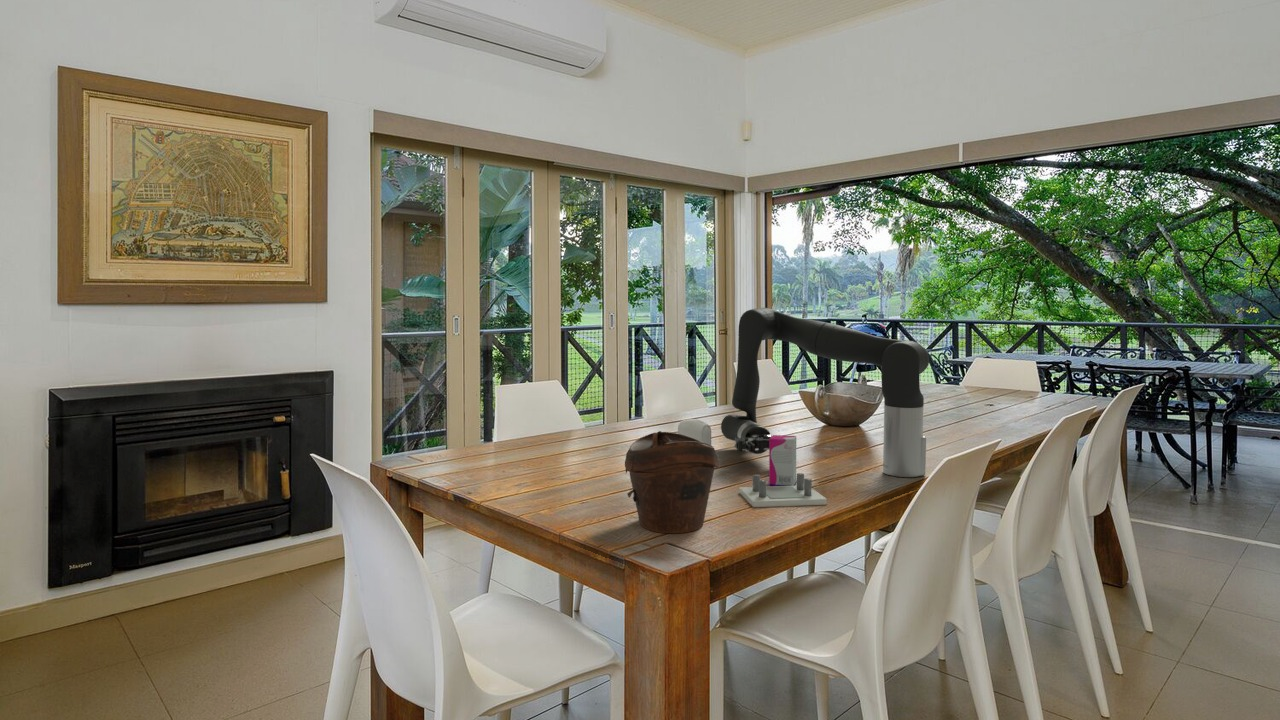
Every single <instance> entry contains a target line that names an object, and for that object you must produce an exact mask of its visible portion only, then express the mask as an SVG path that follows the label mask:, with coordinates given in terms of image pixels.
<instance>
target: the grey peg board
mask: <svg viewBox="0 0 1280 720" xmlns="http://www.w3.org/2000/svg"><path fill="white" fill-rule="evenodd" d="M812 481H813V480H812V478H807V477H806V478H805V473H800V472H796V485H795V486H769V485H768V486H767V480H765V479H761V475H760V474H752V486H742V487H741V486H740V487H739V494H740V495H741V496H742V497H743V499H745V500H746V502H747V503H748V504H750V505H751V507H752V508H762V507H763V508H765V507H770V508H771V507H793V506H795V507H796V506H819V505H820V506H823V505H824V506H825V505H827V502H828V499H827V498H826V497H825V496H823V495H822V494H821V493H820V492H818V491H816V489H814V488H812V486H813V485H812V484H813V482H812Z"/></svg>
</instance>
